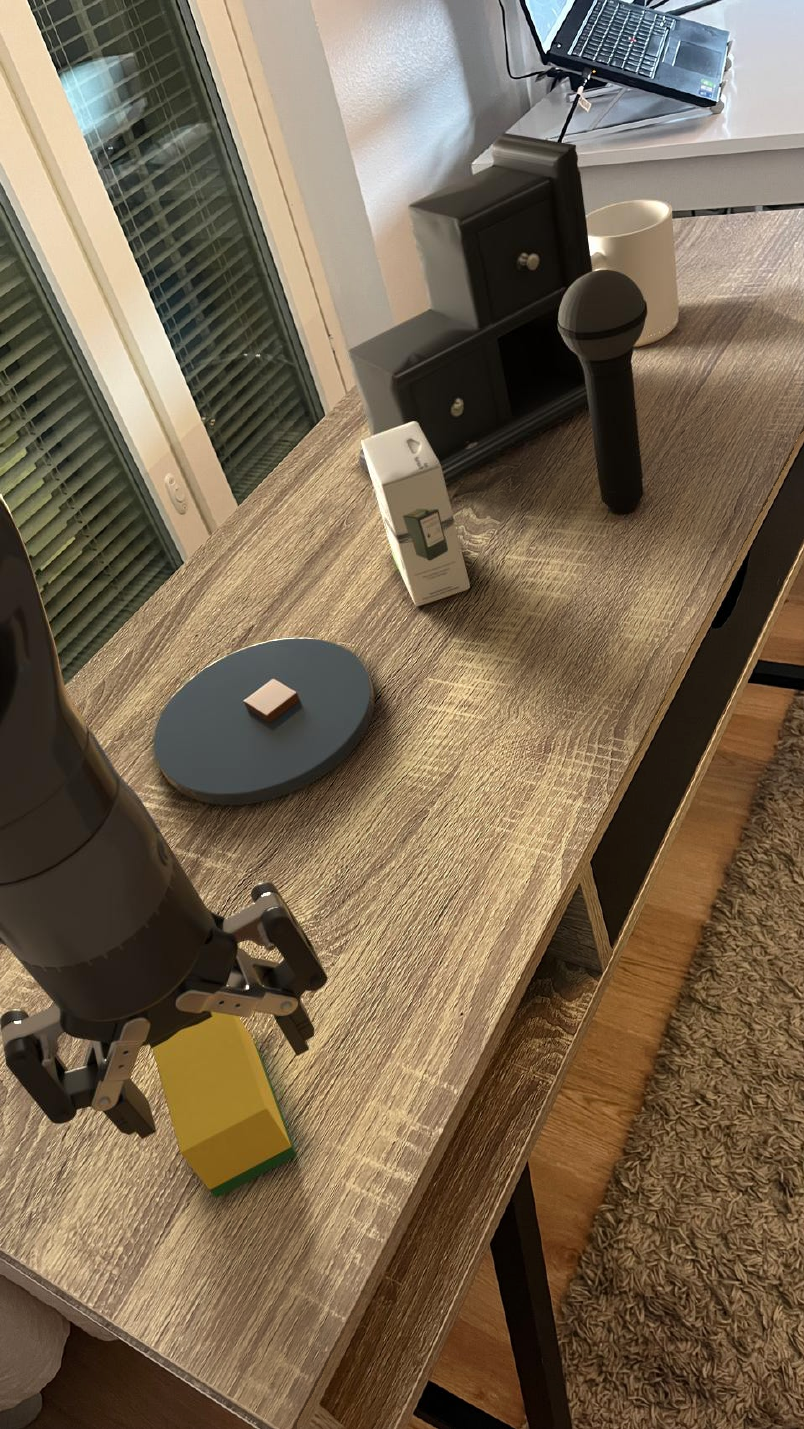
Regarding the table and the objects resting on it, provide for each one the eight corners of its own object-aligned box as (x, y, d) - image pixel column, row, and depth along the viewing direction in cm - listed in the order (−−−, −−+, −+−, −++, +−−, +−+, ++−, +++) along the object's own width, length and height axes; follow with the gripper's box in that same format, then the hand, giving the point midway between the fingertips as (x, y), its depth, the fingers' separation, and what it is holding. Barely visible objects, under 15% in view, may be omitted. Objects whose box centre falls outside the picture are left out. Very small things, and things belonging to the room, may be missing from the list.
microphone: (614, 480, 94) (586, 251, 81) (679, 495, 90) (661, 257, 77) (569, 519, 91) (533, 289, 78) (634, 537, 87) (608, 297, 74)
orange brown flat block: (269, 723, 79) (266, 716, 78) (246, 708, 81) (243, 701, 80) (300, 700, 80) (297, 692, 80) (276, 686, 82) (273, 678, 82)
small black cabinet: (414, 505, 99) (347, 249, 84) (358, 468, 107) (287, 227, 92) (611, 399, 105) (582, 142, 90) (545, 371, 113) (507, 130, 97)
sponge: (216, 1199, 54) (180, 1153, 51) (184, 1087, 59) (149, 1039, 56) (297, 1156, 55) (266, 1108, 52) (258, 1049, 60) (228, 1000, 57)
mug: (693, 310, 115) (686, 197, 107) (649, 364, 109) (638, 248, 101) (611, 309, 120) (600, 201, 112) (564, 360, 114) (548, 249, 106)
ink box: (391, 556, 94) (356, 436, 86) (445, 538, 94) (414, 416, 86) (415, 609, 87) (379, 483, 79) (472, 589, 87) (442, 462, 80)
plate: (188, 842, 73) (181, 831, 73) (139, 707, 86) (133, 696, 85) (410, 737, 76) (406, 725, 75) (330, 621, 89) (326, 610, 88)
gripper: (217, 758, 48) (323, 962, 59) (-85, 904, 46) (81, 1089, 57) (266, 865, 43) (374, 1070, 53) (-75, 1037, 41) (107, 1215, 51)
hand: (223, 1080), depth 55 cm, fingers open, 8 cm apart
